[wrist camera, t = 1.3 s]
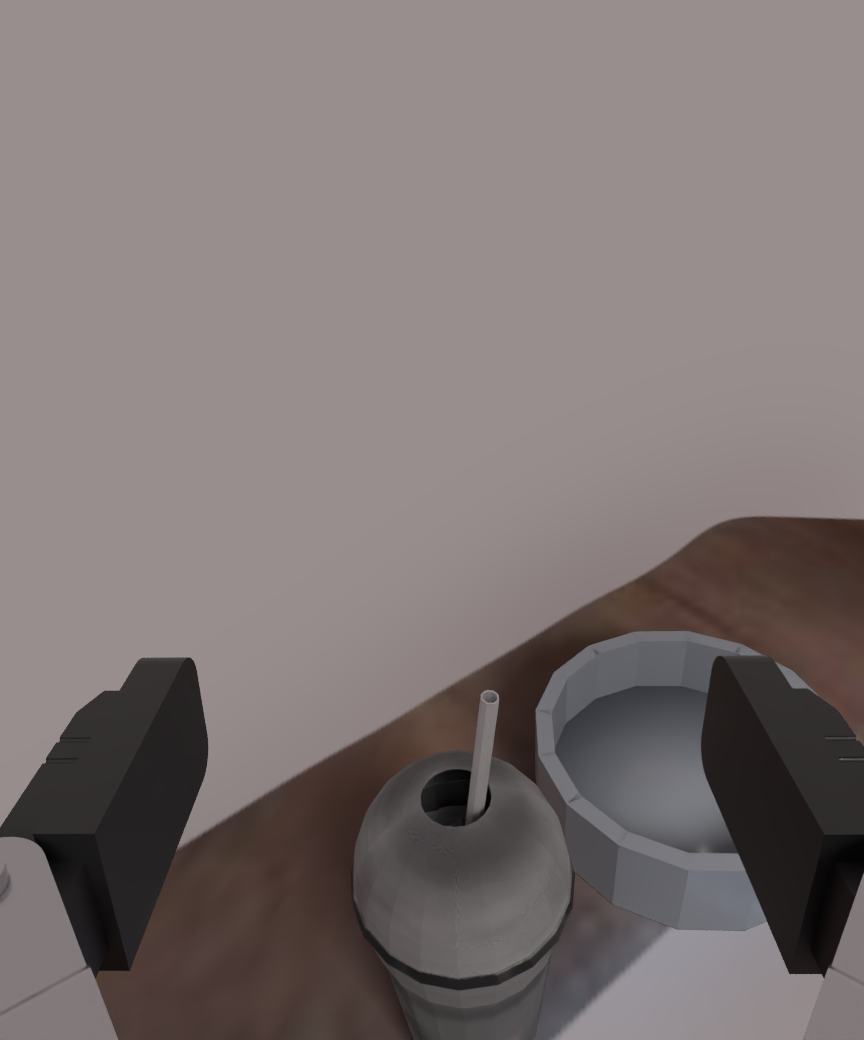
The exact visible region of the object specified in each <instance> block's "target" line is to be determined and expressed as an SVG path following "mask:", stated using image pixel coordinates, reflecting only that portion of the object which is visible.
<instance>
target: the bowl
mask: <svg viewBox="0 0 864 1040" xmlns="http://www.w3.org/2000/svg"><path fill="white" fill-rule="evenodd" d="M737 655H761V654H759V653H758V652H756V651H754V650H752V649H750V648H748V647H746V646H744V645H742V644H739V643H735V642H730V641H726V640H722V639H718V638H714V637H710V636H706V635H702V634H698V633H693V632H689V631H640V632H632V633H628V634H625V635H622V636H619V637H615V638H612V639H609V640H605V641H602V642H599V643H595V644H592V645H589V646H587V647H586V648H585V649H584V650H582V651H581V652H580V653H578V654H577V655H576V656H574V657H573V658H572V659H571V660H569V661H568V662H567V663H565V664H564V665H563V666H561V667H560V668H559V669H558V670H556V671H555V672H554V673H553V675H552V677H551V679H550V681H549V684H548V686H547V688H546V690H545V692H544V694H543V696H542V698H541V700H540V702H539V704H538V706H537V708H536V718H535V775H536V785H537V786H538V788H539V789H540V791H541V792H542V794H543V795H544V797H545V798H546V800H547V801H548V802H549V804H550V805H551V807H552V808H553V810H554V811H555V813H556V815H557V816H558V818H559V822H560V825H561V828H562V831H563V835H564V839H565V841H566V844H567V848H568V851H569V855H570V859H571V862H572V866H573V870H574V872H575V873H577V874H578V875H579V876H580V877H581V878H582V879H584V880H585V881H586V882H587V883H588V884H589V885H591V886H592V887H593V888H594V889H595V890H596V891H598V892H599V893H600V894H601V895H602V896H603V897H605V898H606V899H607V900H608V901H609V902H610V903H612V904H613V905H616V906H618V907H621V908H623V909H626V910H628V911H631V912H634V913H636V914H639V915H641V916H644V917H646V918H649V919H652V920H654V921H657V922H659V923H662V924H664V925H667V926H669V927H672V928H675V929H679V930H682V929H683V930H724V931H726V930H728V931H745V930H748V929H750V928H753V927H755V926H757V925H760V924H762V923H764V922H767V920H766V918H765V915H764V913H763V911H762V908H761V906H760V904H759V901H758V899H757V896H756V894H755V892H754V889H753V887H752V885H751V882H750V880H749V878H748V875H747V873H746V871H745V868H744V866H743V864H742V861H741V859H740V857H739V854H738V852H737V850H736V847H735V845H734V842H733V840H732V838H731V835H730V833H729V831H728V828H727V826H726V824H725V821H724V819H723V817H722V814H721V812H720V810H719V807H718V805H717V803H716V800H715V798H714V796H713V793H712V791H711V788H710V786H709V784H708V781H707V779H706V776H705V773H704V769H703V764H702V757H701V735H702V728H703V721H704V715H705V709H706V702H707V696H708V689H709V683H710V676H711V670H712V665H713V662H714V660H715V658H716V657H717V656H737ZM775 663H776V664H777V666H778V667H779V669H780V670H781V672H782V673H783V675H784V676H785V678H786V679H787V681H788V682H789V684H790V685H791V687H792V688H808V689H809V690H811V691H812V692H813V693H815V692H814V691H813V690H812V689H811V688H810V687H809V686H808V685H807V684H806V683H805V682H804V681H803V680H802V679H800V678H799V677H798V676H797V675H796V674H795V673H794V672H793V671H792V670H790V669H788V668H786V667H784V666H782V665H780V664H778V663H777V662H775ZM815 694H816V693H815ZM816 695H817V694H816ZM817 696H818V695H817Z"/></svg>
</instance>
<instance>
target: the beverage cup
mask: <svg viewBox="0 0 864 1040" xmlns="http://www.w3.org/2000/svg"><path fill="white" fill-rule="evenodd" d="M498 705H499V694H497V693H496V692H494V691H493V690H485V691H484V692H483V693H482V694H481V697H480V705H479V713H478V721H477V730H476V738H475V746H474V752H470V751H462V750H456V751H449V752H441V753H435V754H433V755H430V756H428V757H425V758H423V759H420V760H418V761H415V762H413V763H411V764H409V765H408V766H406V767H405V768H404V769H402V770H401V771H400V772H399V773H397V774H396V775H395V776H393V777H392V778H391V779H389V781H388V782H387V783H386V784H385V785H384V787H383V788H382V789H381V791H380V792H379V793H378V795H377V796H376V798H375V799H374V800H373V802H372V803H371V804H370V806H369V807H368V810H367V812H366V814H365V816H364V820H363V823H362V826H361V829H360V832H359V835H358V838H357V841H356V845H355V851H354V863H353V867H352V872H351V877H352V906H353V909H354V912H355V914H356V917H357V920H358V922H359V925H360V927H361V930H362V933H363V935H364V938H365V939H366V940H367V941H368V942H369V943H370V945H371V946H372V947H373V949H374V950H375V952H376V954H377V955H378V957H379V958H380V960H381V961H382V963H383V964H384V965H385V966H386V967H387V969H388V971H389V974H390V977H391V979H392V982H393V985H394V988H395V990H396V993H397V996H398V998H399V1001H400V1004H401V1007H402V1009H403V1012H404V1015H405V1018H406V1020H407V1023H408V1026H409V1029H410V1031H411V1034H412V1037H413V1040H534V1039H535V1034H536V1029H537V1024H538V1019H539V1014H540V1008H541V1003H542V998H543V993H544V988H545V983H546V978H547V973H548V968H549V963H550V957H551V952H552V950H553V948H554V946H555V944H556V943H557V941H558V940H559V938H560V936H561V933H562V931H563V929H564V927H565V924H566V922H567V920H568V917H569V915H570V913H571V911H572V908H573V895H574V881H575V873H574V870H573V866H572V862H571V859H570V855H569V851H568V848H567V844H566V841H565V839H564V835H563V831H562V828H561V825H560V822H559V818H558V816H557V815H556V813H555V811H554V810H553V808H552V807H551V805H550V804H549V802H548V801H547V800H546V798H545V797H544V795H543V794H542V792H541V791H540V789H539V788H538V786H537V785H536V784H535V783H534V782H532V781H531V780H530V779H529V778H528V777H526V776H525V775H524V774H522V773H521V772H520V771H519V770H517V769H516V768H515V767H514V766H512V765H511V764H510V763H507V762H505V761H502V760H500V759H497V758H495V757H492V749H493V742H494V735H495V727H496V720H497V713H498Z"/></svg>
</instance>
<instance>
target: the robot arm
mask: <svg viewBox="0 0 864 1040" xmlns="http://www.w3.org/2000/svg"><path fill="white" fill-rule="evenodd" d="M701 757H702V764H703V769H704V773H705V776H706V779H707V781H708V784H709V786H710V788H711V791H712V793H713V796H714V798H715V800H716V803H717V805H718V807H719V810H720V812H721V814H722V817H723V819H724V821H725V824H726V826H727V828H728V831H729V833H730V835H731V838H732V840H733V842H734V845H735V847H736V850H737V852H738V854H739V857H740V859H741V861H742V864H743V866H744V868H745V871H746V873H747V875H748V878H749V880H750V882H751V885H752V887H753V889H754V892H755V894H756V896H757V899H758V901H759V904H760V906H761V908H762V911H763V913H764V915H765V918H766V920H767V922H768V925H769V927H770V929H771V932H772V934H773V936H774V939H775V941H776V943H777V945H778V948H779V950H780V952H781V955H782V958H783V960H784V962H785V964H786V967H787V969H788V972H789V974H822V975H823V977H824V981H823V984H822V987H821V989H820V992H819V995H818V998H817V1001H816V1004H815V1006H814V1009H813V1012H812V1015H811V1018H810V1021H809V1023H808V1026H807V1029H806V1032H805V1035H804V1038H803V1040H864V746H863V745H862V744H861V742H860V741H856V735H855V734H854V733H853V731H852V730H851V728H850V727H849V726H848V724H847V723H846V721H845V720H844V719H843V717H842V716H841V714H840V713H839V712H838V710H837V709H835V708H834V707H832V706H831V705H830V704H828V703H827V702H826V701H824V700H823V699H822V698H820V697H819V696H817V695H816V694H815V693H813V692H812V691H811V690H809V689H808V688H792V687H791V685H790V684H789V682H788V681H787V679H786V678H785V676H784V675H783V673H782V672H781V670H780V669H779V667H778V666H777V664H776V663H775V661H774V660H773V659H772V658H771V657H770V656H768V655H737V656H717V657H716V658H715V660H714V662H713V665H712V670H711V676H710V683H709V689H708V696H707V702H706V709H705V715H704V721H703V728H702V735H701ZM207 759H208V737H207V730H206V724H205V718H204V712H203V706H202V700H201V695H200V688H199V682H198V676H197V670H196V666H195V663H194V661H193V660H192V659H191V658H141V659H140V660H138V662H137V663H136V665H135V666H134V668H133V670H132V671H131V673H130V675H129V676H128V678H127V679H126V681H125V683H124V684H123V686H122V688H121V689H120V691H104V692H102V693H101V694H100V695H98V696H97V697H96V698H94V699H93V700H92V701H91V702H89V703H88V704H87V705H85V706H84V707H83V708H82V709H80V710H79V711H78V712H76V714H75V715H74V717H73V718H72V720H71V722H70V723H69V725H68V726H67V727H66V729H65V731H64V732H63V733H62V735H61V737H60V742H59V743H56V744H55V746H54V747H53V749H52V750H51V752H50V753H49V755H48V756H47V758H46V763H45V764H42V765H41V767H40V768H39V770H38V771H37V773H36V774H35V776H34V777H33V779H32V780H31V782H30V783H29V785H28V786H27V788H26V789H25V791H24V792H23V794H22V795H21V797H20V798H19V800H18V801H17V803H16V805H15V806H14V808H13V809H12V811H11V812H10V814H9V815H8V817H7V818H6V820H5V821H4V823H3V824H2V826H1V827H0V1040H118V1038H117V1035H116V1033H115V1030H114V1027H113V1025H112V1022H111V1019H110V1017H109V1014H108V1012H107V1009H106V1006H105V1004H104V1001H103V998H102V996H101V993H100V990H99V988H98V985H97V983H96V980H95V979H96V976H97V974H98V971H130V968H131V966H132V963H133V960H134V958H135V955H136V953H137V950H138V948H139V945H140V942H141V940H142V937H143V935H144V932H145V929H146V927H147V924H148V922H149V919H150V916H151V914H152V911H153V909H154V906H155V903H156V901H157V898H158V896H159V893H160V891H161V888H162V885H163V883H164V880H165V878H166V875H167V872H168V870H169V867H170V865H171V862H172V859H173V857H174V854H175V852H176V849H177V846H178V844H179V841H180V838H181V836H182V834H183V831H184V828H185V826H186V823H187V821H188V818H189V815H190V813H191V810H192V807H193V805H194V802H195V800H196V797H197V794H198V792H199V789H200V787H201V784H202V782H203V779H204V776H205V772H206V767H207Z"/></svg>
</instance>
